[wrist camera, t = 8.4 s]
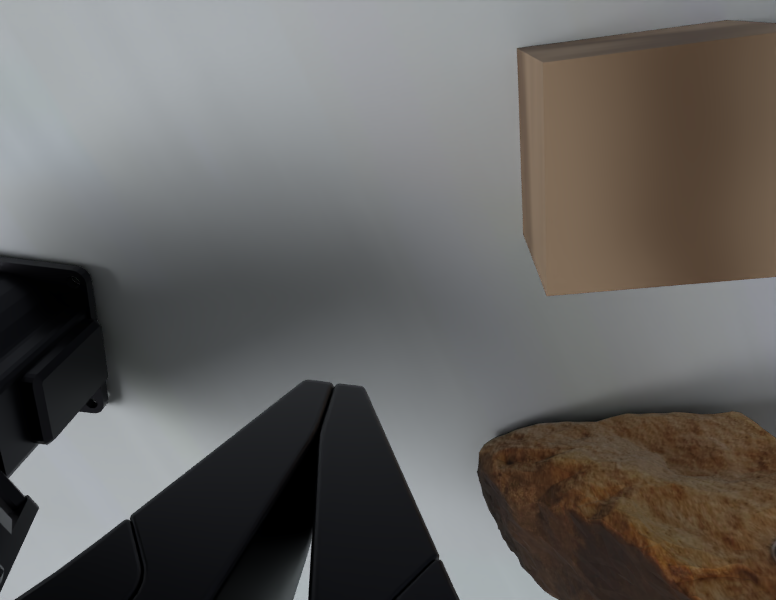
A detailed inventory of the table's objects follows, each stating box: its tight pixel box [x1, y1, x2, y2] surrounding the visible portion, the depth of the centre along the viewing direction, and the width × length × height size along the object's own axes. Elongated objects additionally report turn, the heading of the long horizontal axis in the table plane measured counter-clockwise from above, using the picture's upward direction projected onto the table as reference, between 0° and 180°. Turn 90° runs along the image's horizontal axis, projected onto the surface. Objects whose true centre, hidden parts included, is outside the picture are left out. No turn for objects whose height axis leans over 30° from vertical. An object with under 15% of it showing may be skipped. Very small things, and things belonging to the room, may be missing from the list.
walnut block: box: [517, 20, 776, 296], centre depth 17 cm, size 6×6×5 cm
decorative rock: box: [477, 411, 776, 600], centre depth 20 cm, size 12×6×11 cm, turn 106°
